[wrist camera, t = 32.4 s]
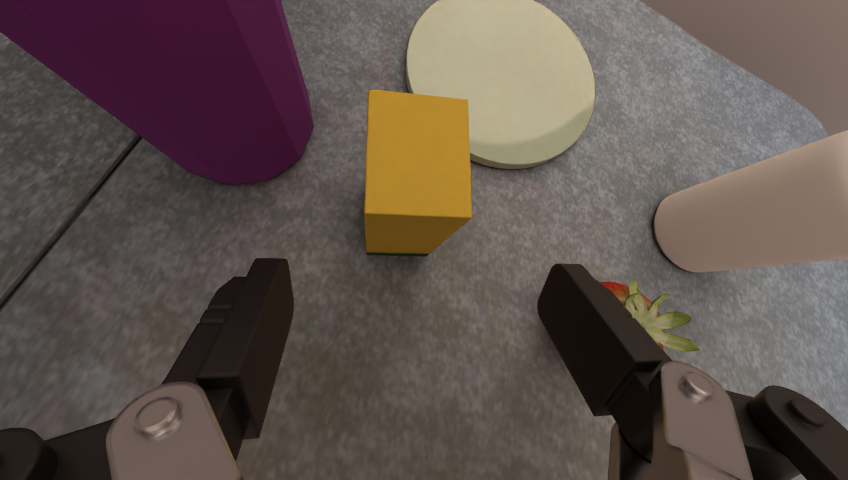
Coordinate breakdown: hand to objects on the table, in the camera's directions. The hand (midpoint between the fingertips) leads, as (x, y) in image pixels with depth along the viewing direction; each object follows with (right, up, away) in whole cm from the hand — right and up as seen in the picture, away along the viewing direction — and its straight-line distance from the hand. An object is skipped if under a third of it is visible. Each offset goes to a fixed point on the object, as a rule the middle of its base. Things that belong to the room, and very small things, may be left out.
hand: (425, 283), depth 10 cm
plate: (+6, +14, +16) cm, 22 cm away
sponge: (-2, +3, +12) cm, 12 cm away
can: (+21, +2, +16) cm, 26 cm away
